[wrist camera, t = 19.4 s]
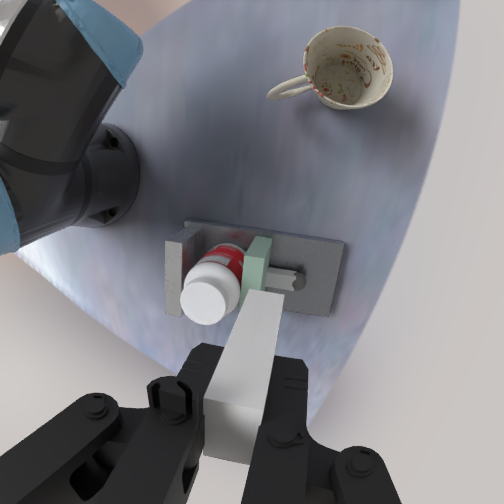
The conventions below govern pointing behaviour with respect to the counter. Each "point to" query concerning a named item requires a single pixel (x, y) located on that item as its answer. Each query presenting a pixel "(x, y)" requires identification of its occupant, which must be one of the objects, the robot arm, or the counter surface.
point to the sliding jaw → (266, 271)
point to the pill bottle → (214, 284)
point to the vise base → (281, 257)
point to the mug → (342, 69)
